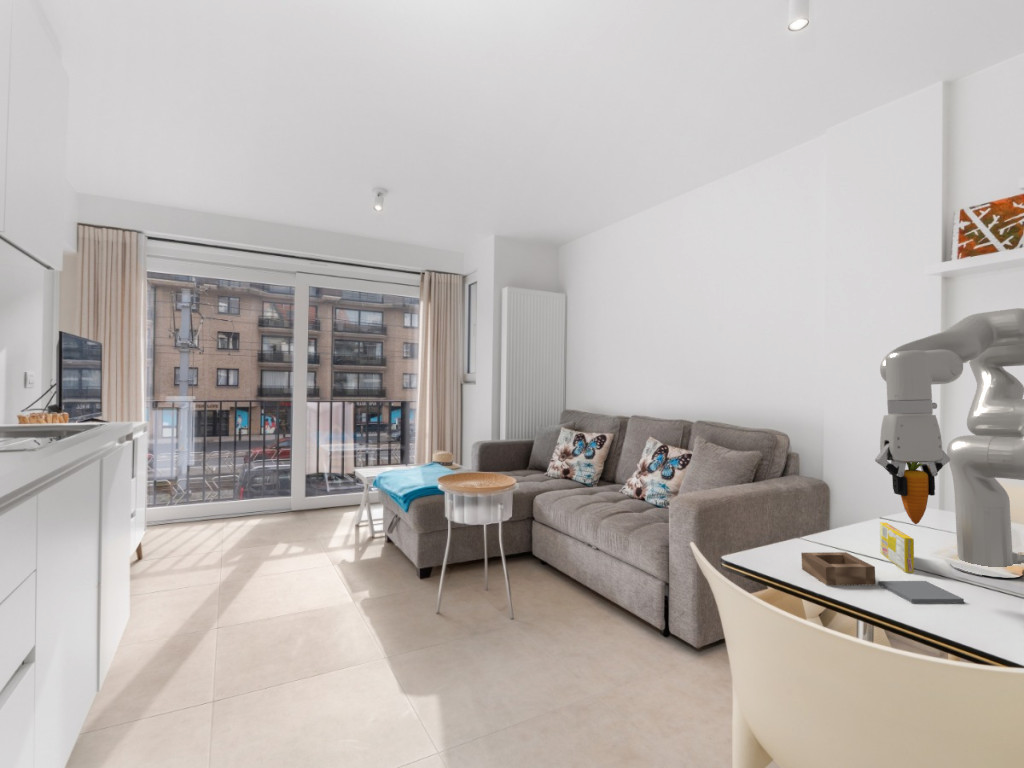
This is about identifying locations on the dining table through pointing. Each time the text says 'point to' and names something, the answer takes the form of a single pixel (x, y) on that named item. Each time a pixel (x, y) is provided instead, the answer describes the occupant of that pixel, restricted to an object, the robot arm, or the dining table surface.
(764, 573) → the dining table surface
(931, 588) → the rubber mat
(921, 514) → the carrot
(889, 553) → the candy box
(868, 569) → the walnut collar
